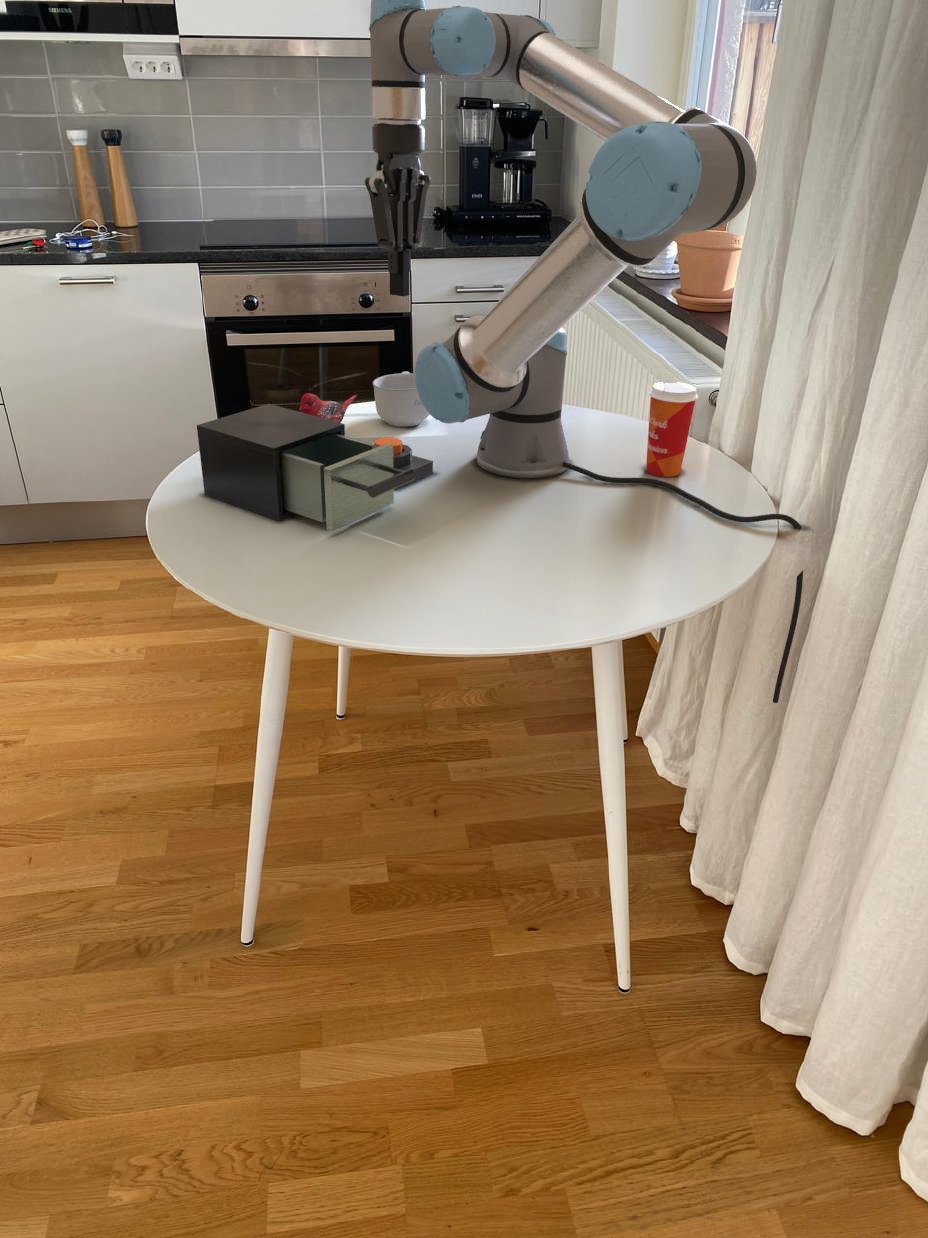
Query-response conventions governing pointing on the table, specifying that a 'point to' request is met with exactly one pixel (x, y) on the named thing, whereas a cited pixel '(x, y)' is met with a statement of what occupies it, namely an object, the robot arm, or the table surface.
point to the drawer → (339, 479)
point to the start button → (392, 441)
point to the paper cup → (669, 426)
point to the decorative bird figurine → (324, 407)
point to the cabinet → (255, 455)
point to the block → (412, 464)
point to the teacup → (399, 400)
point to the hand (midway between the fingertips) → (399, 294)
